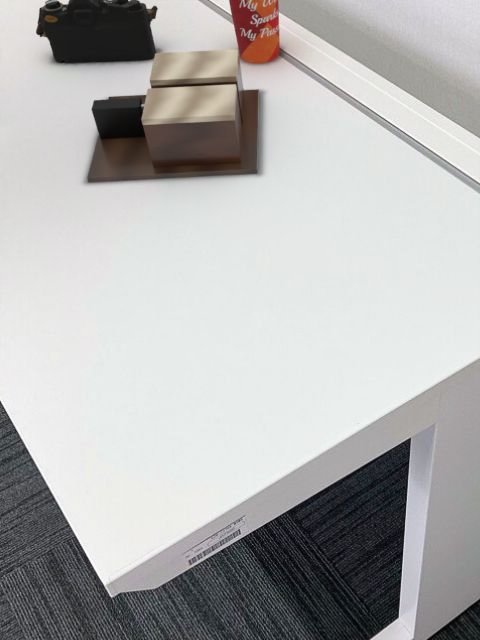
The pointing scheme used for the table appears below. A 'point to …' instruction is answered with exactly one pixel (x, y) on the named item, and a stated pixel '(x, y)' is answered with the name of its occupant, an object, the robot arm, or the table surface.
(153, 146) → the blocks on base plate
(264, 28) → the coffee cup
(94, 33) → the film camera
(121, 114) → the knife
